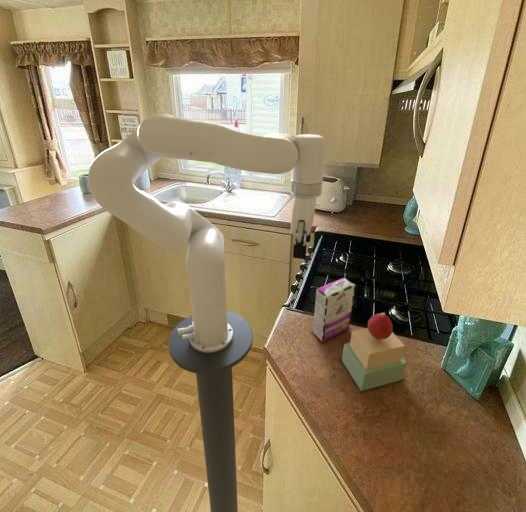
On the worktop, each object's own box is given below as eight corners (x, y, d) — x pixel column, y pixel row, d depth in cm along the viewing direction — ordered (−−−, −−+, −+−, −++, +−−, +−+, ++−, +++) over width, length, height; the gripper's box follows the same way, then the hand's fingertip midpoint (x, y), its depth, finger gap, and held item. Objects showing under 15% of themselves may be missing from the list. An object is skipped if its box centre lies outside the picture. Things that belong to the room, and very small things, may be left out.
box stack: (361, 391, 77) (368, 358, 72) (341, 360, 86) (346, 329, 81) (402, 379, 80) (411, 347, 76) (379, 351, 89) (386, 320, 84)
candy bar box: (338, 319, 101) (344, 276, 94) (349, 329, 97) (356, 284, 90) (311, 332, 95) (315, 288, 88) (322, 343, 91) (327, 297, 84)
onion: (361, 338, 78) (366, 313, 75) (371, 326, 82) (376, 302, 79) (384, 350, 75) (390, 324, 71) (393, 337, 79) (399, 312, 75)
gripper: (296, 177, 85) (293, 234, 92) (284, 196, 69) (281, 263, 77) (324, 179, 83) (318, 237, 91) (318, 200, 68) (312, 267, 75)
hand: (301, 249), depth 84 cm, fingers open, 9 cm apart
